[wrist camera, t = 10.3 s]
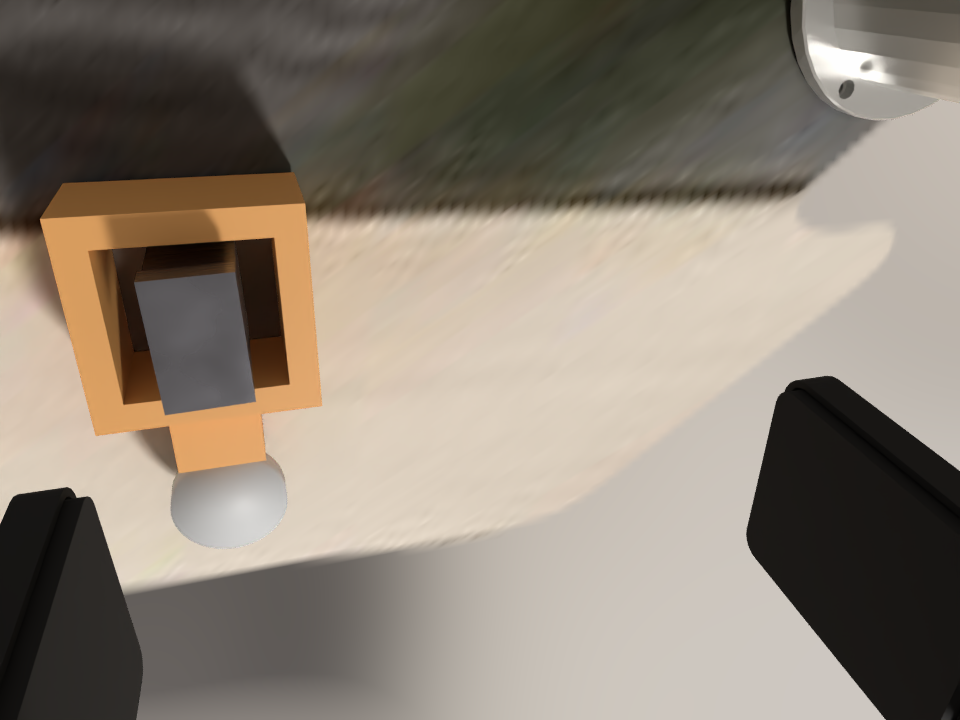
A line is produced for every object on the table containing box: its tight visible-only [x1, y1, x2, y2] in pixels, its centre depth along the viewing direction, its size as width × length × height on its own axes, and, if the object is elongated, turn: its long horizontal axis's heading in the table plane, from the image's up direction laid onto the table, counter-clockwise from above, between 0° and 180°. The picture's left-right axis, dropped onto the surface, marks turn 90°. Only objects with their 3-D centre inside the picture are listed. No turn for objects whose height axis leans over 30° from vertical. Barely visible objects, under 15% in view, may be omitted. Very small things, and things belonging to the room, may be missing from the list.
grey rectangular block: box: [134, 240, 256, 415], centre depth 29 cm, size 3×5×6 cm, turn 0°
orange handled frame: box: [40, 172, 322, 549], centre depth 32 cm, size 17×9×4 cm, turn 178°
